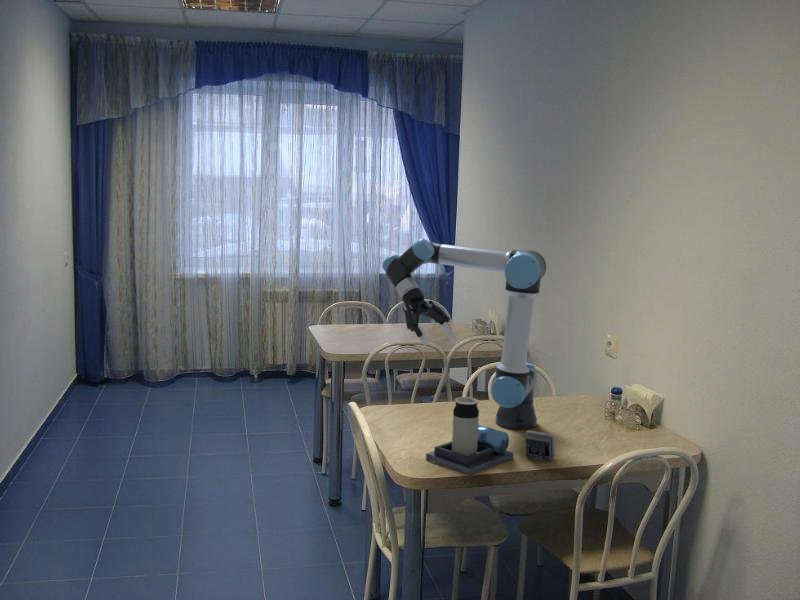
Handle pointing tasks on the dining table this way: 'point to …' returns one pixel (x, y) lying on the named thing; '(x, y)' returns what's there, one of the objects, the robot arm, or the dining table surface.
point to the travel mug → (465, 426)
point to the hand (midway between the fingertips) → (440, 341)
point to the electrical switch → (540, 446)
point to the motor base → (487, 455)
